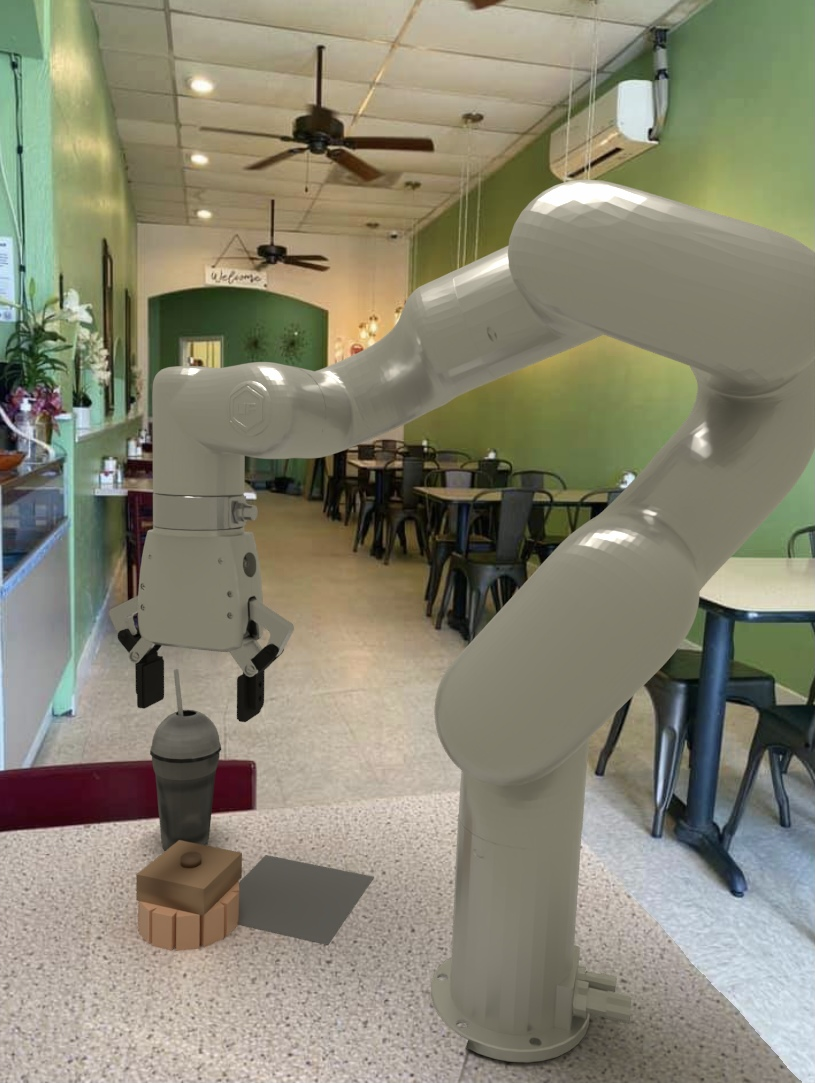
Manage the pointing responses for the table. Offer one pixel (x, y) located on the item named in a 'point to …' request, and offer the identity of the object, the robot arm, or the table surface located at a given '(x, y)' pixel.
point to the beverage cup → (185, 773)
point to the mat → (298, 898)
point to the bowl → (188, 923)
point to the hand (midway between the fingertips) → (199, 710)
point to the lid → (189, 877)
